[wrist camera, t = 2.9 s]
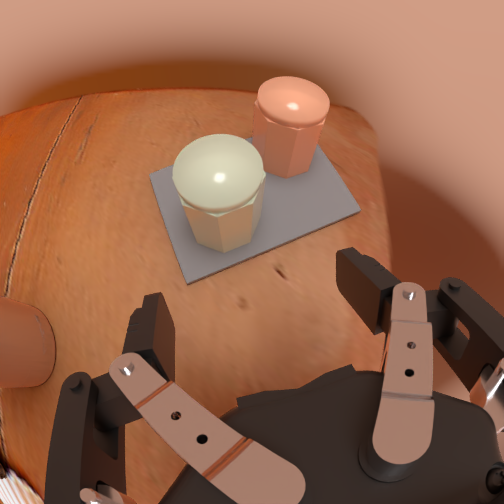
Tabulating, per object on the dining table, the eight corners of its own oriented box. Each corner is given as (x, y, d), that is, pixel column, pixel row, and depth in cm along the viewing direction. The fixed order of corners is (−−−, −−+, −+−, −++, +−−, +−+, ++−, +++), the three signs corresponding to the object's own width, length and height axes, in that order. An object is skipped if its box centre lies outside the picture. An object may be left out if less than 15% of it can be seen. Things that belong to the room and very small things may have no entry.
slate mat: (187, 284, 26) (186, 283, 25) (150, 177, 29) (148, 174, 29) (359, 212, 29) (361, 210, 28) (301, 126, 32) (302, 123, 32)
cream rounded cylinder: (204, 261, 26) (188, 221, 18) (182, 204, 28) (162, 151, 20) (268, 234, 27) (279, 186, 19) (241, 181, 29) (241, 124, 21)
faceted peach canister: (269, 184, 29) (279, 127, 21) (244, 141, 31) (246, 83, 23) (322, 166, 30) (343, 112, 22) (294, 127, 32) (305, 72, 24)
